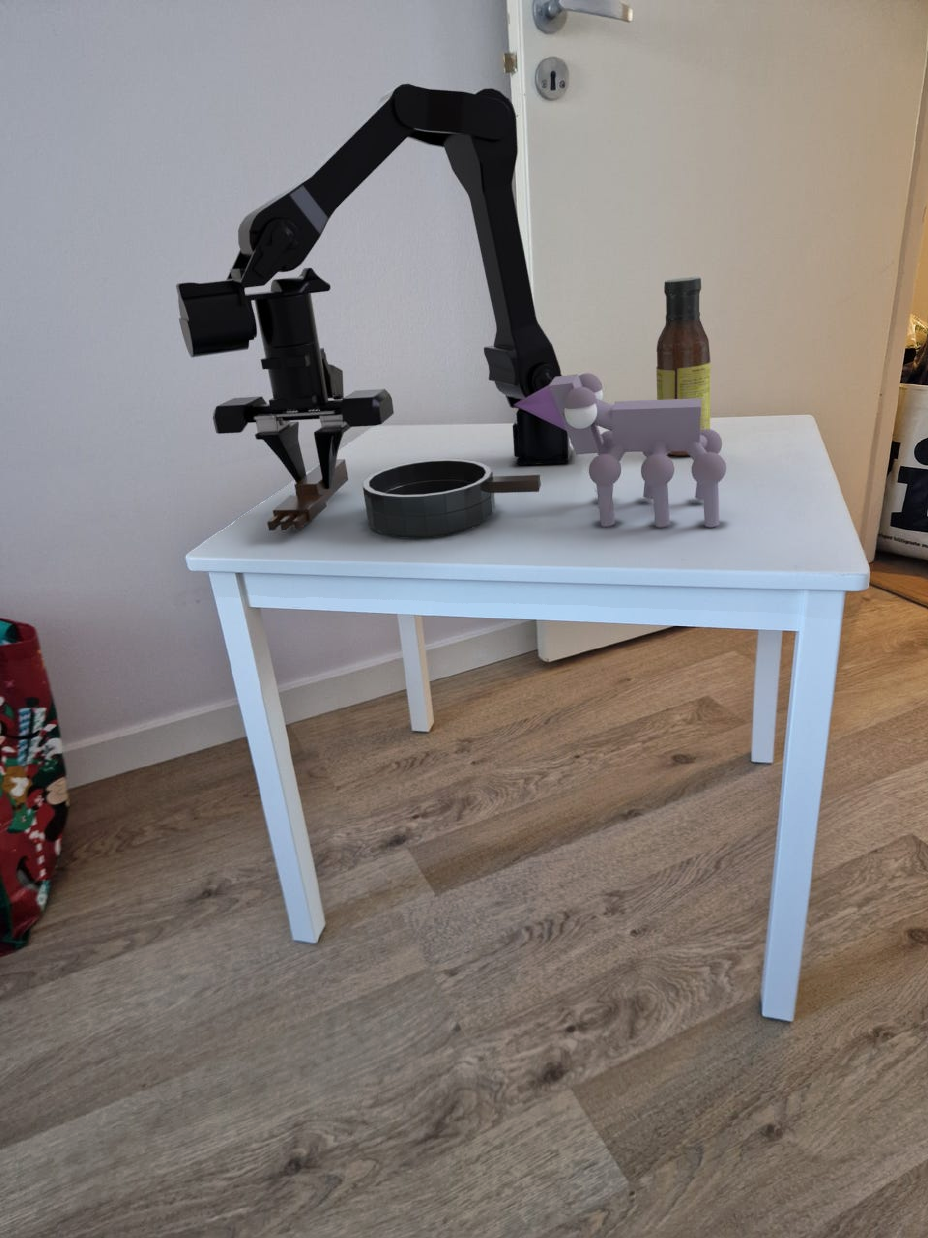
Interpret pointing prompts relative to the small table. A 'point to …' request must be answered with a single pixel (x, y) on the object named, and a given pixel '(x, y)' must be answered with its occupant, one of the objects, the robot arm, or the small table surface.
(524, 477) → the pan handle
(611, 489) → the toy sheep
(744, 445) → the small table surface
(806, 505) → the small table surface
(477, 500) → the pan
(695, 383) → the sauce bottle
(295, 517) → the fork
